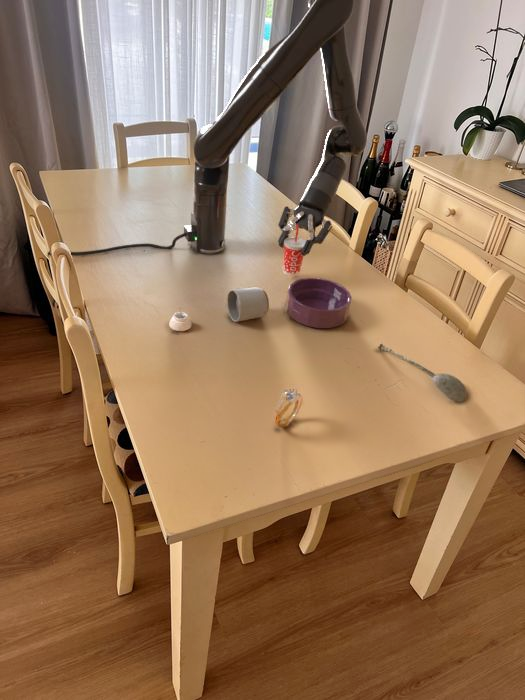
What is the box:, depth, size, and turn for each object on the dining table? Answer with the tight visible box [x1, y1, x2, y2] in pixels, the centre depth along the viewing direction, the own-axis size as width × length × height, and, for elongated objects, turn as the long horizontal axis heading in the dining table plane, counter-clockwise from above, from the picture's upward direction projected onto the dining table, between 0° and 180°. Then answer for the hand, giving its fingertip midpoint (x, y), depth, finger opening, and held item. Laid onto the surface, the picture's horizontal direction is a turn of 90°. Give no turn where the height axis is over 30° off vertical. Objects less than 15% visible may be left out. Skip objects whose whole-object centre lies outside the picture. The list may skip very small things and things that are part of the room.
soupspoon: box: [377, 343, 468, 403], centre depth 112 cm, size 22×3×7 cm
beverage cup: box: [282, 224, 307, 278], centre depth 136 cm, size 6×6×14 cm
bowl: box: [285, 277, 352, 329], centre depth 127 cm, size 15×15×6 cm
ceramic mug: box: [226, 287, 270, 323], centre depth 123 cm, size 11×8×8 cm
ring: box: [273, 388, 304, 429], centre depth 94 cm, size 7×3×8 cm, turn 135°
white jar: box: [168, 311, 193, 332], centre depth 117 cm, size 5×3×5 cm
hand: (291, 250), depth 134 cm, fingers closed on beverage cup, 6 cm apart
